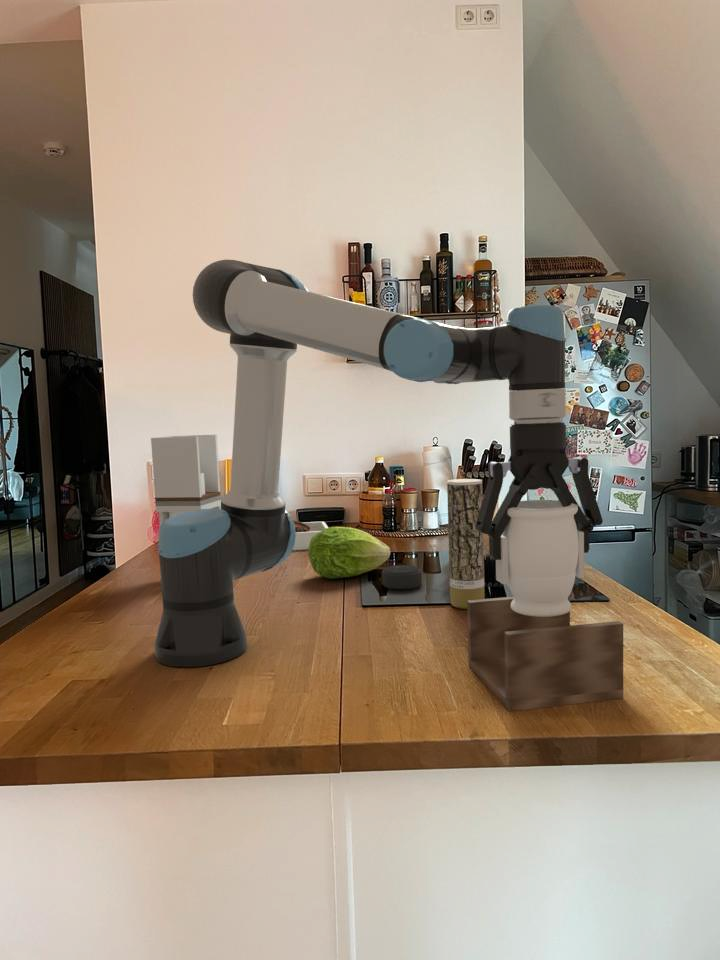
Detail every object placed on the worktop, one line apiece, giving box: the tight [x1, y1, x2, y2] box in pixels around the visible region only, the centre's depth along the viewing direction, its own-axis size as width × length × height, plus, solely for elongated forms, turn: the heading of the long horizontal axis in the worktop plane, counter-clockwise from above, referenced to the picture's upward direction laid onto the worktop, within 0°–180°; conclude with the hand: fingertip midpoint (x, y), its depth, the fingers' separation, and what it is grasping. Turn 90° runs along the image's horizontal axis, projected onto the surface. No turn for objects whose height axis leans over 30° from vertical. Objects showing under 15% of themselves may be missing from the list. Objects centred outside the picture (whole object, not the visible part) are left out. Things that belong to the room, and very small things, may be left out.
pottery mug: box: [291, 519, 310, 533], centre depth 207 cm, size 12×10×8 cm
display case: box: [150, 434, 222, 588], centre depth 163 cm, size 11×11×35 cm
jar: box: [502, 499, 579, 617], centre depth 96 cm, size 11×10×15 cm
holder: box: [466, 594, 624, 712], centre depth 98 cm, size 16×16×10 cm
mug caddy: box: [291, 520, 329, 552], centre depth 207 cm, size 16×18×5 cm
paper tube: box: [446, 478, 486, 610], centre depth 135 cm, size 7×7×25 cm
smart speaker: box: [381, 564, 423, 590], centre depth 154 cm, size 9×9×4 cm
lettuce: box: [307, 526, 391, 580], centre depth 166 cm, size 13×22×14 cm
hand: (540, 578), depth 97 cm, fingers closed on jar, 10 cm apart
